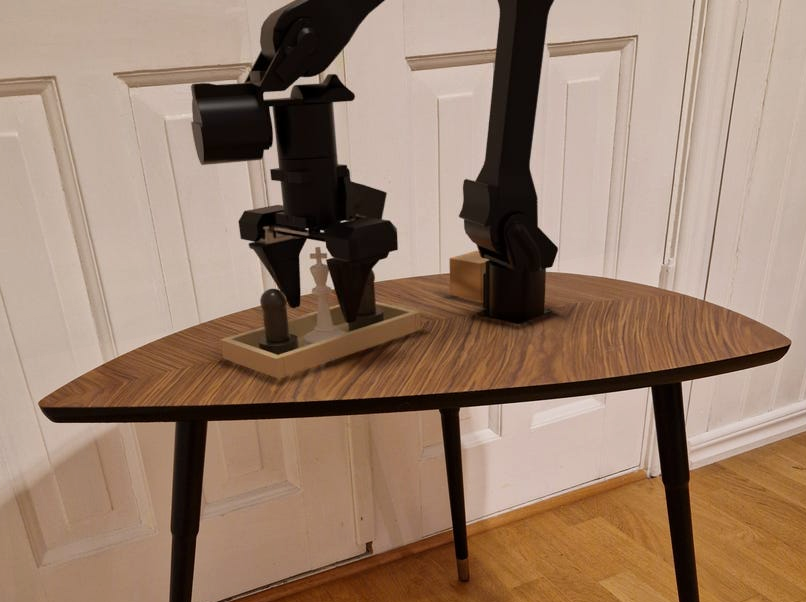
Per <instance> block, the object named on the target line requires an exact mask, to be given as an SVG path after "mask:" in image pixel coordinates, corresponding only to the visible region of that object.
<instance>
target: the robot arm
mask: <svg viewBox="0 0 806 602" xmlns="http://www.w3.org/2000/svg"><path fill="white" fill-rule="evenodd" d="M385 1H386V0H293V1H291V2H289V3H287V4H285V5H283V6H281V7H280V8H278V9H276V10H274V11H273V12H271V13H270V14H269V15H268V16H267V17H266V19H265V20H264V21H263V23H262V25H261V27H260V37H259V44H260V52H259V54H258V56H257V57H256V59H255V61H254V63H253V65H252V66H251V69H250V71H249V72H248V74H247V76H246V78H245V80H244V82H241V83H238V82H237V83H223V84H214V83H209V82H197V83H192V84H191V85H190V90H191V97H192V100H191V112H192V121H191V122H190V123H191V124H190V125H191V131H192V137H193V143H194V147H195V151H196V155H197V158H198V162H199V164H200V165H201V166H207V165H209V166H210V165H219V164H231V163H241V162H243V163H244V162H252V161H253V162H254V161H262V160H263V158H264V152H265V151H269V150H270V148H272V147H273V144H274V143H273V142H274V135H275V144H276V152H277V161H278V162H277V163H278V168H277V167H276V168H271V169H269V172H270V179H271V181H275V182H280V188H281V189H280V190H281V199H282V204H275V205H269V206H263V207H258V208H252V209H247V210H244V211H243V212H242V214H241V216H240V218H239V219H238V221H237V222H238V228H239V236H240V240H244V241H249V243H248V247H249V249H250V250H253V251H254V253H255V254H256V256H257V257H258V259H259V260H260V262H261V263H262V265H263V266H264V267H265V269H266V271H267V272H268V273H269V275H270V277H271V278H272V279H273V281H274V283H275V284H276V286H277V288H278V290H280V291H281V292H282V293H283V294H284V295H285V297H286V301H287V304H288V306H289V307H290V308H291V309H297V308H299V307H300V306H301V297H302V296H301V295H302V293H301V290H302V289H301V272H300V271H301V267H300V265H301V264H300V254H301V252H302V250H303V248H304V246H305V244H306V242H307V240H312V241H317V242H323V243H325V248H326V250H327V251H328V253H329V254H330V256H331V258H326V259H325V262H326V265H327V266H328V269H329V275H330V278H331V282H332V285H333V288H334V292H335V295H336V298H337V301H338V305H340V308H341V311H342V314H343V316H344V319H345V322H346V323H352V322H355V321H356V319H357V315H358V311H359V308H360V304H361V300H362V297H363V293H364V289H365V286H366V283H367V280H368V277H369V275H370V272H371V270H373V268H374V267H375V266H376V265H377V264H378V262H379V261H382V260H386V259H387V258H388V256H389V255H390V253H392V252H395V251H399V240H398V229H397V227H396V226H395V225H394V224H393V222H392V221H391V220H389V219H383V216H384V210H385V205H386V199H387V195H388V192H386V191H384V190H381V189H378V188H376V187H375V188H374V187H371V186H368V185H366V184H362V183H358V182H354V181H352V180H351V170H350V169H349V168H348V164H340V163H339V159H338V149H337V147H338V146H337V137H336V134H337V133H336V123H335V121H336V120H335V111H334V103H341V102H342V103H344V102H346V103H347V102H353V101H354V100H355V98H356V95H355V94H356V93H354V92H353V91H352V90H350V88H349V87H347V86H346V85H345V84H344V83H343V82H342V81H341V79H340V78H339V76H338V74H336V73H328V74H326V76H325V78H324V80H323V81H322V82H321V83H307V84H306V83H305V84H295V85H293V84H294V83H296V82H297V81H298V80H299V79H300V78H312V77H316V76H318V75H320V74H321V73H323V72H325V71H326V70H327V69H328V68H329V67H330V66H331V65H332V63H333V62H334V61H335V60H336V58H337V57H338V56H339V55H340V54H341V52H342V51H343V50H344V49H345V47H346V46H347V45H348V44H349V43H350V42H351V40H352V39H353V36H354V35H355V34H356V32H357V30H358V28H359V27H360V25H361V24H362V23H363V22H364V21H365V20H366V18H367V17H368V15H370V14H371V13H372V12H373V11H374V10H375V9H376V8H378V7H380V5H382V4H383V3H384V2H385ZM554 3H555V0H497V4H498V8H499V9H498V10H499V16H498V17H499V19H498V27H497V37H496V38H497V39H496V47H495V57H494V65H493V66H494V67H493V76H492V77H493V78H492V87H491V97H490V106H489V117H488V128H487V137H486V147H485V155H484V162H483V165H482V167H481V168H480V171H479V172H478V175H477V177H476V179H475V180H472V179H468V178H465V179H463V183H462V200H463V201H462V206H461V209H460V212H459V214H458V218H460V219H462V220H463V228H464V232H465V235H466V236H467V237H468V238H469V240H470V241H471V242H472V243H474V244H475V246H476V248H477V251H479V254H480V256H481V258H484V259H485V258H486V259H488V260H489V261H486V273H484V274H483V300H482V307H483V309H482V310H480V311H477V312H476V315H477V316H480V317H485V318H489V319H492V320H497V321H502V322H505V323H509V324H510V323H511V324H515V325H521V324H525V323H527V322H529V321H532V320H535V319H538V318H540V317H542V316H545V315H548V314H551V313H553V312H554V311H553V309H552V308H547V307H545V306H546V281H547V280H546V279H547V269H550V268H552V267H553V266H554V264H555V261H556V257H557V255H558V252H559V247H558V246H557V245H556V244H555V243H554V242H553V241H552V240H551V239H550V238H549V237H548V236H547V234H546V233H545V232H544V231H543V230H542V229H541V228H540V227H539V213H538V212H539V209H538V208H539V207H538V205H539V202H538V201H539V200H538V194H537V190H536V187H535V183H534V179H533V175H532V172H531V155H532V150H533V149H532V148H533V140H534V132H535V125H536V118H537V117H536V116H537V108H538V100H539V92H540V84H541V76H542V67H543V58H544V51H545V45H546V44H545V43H546V36H547V35H546V34H547V27H548V19H549V15H550V11H551V8H552V6H553V4H554ZM292 85H293V86H292ZM291 86H292V88H291V90H290V95H289V97H279V98H265V99H264V97H265V96H264V94H265V93H274V92H285V91H287V90H288V89H289V88H290V87H291ZM271 107H272V115H273V122H272V115H271V110H270V109H271ZM273 125H274V130H273ZM274 131H275V132H274Z"/></svg>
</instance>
